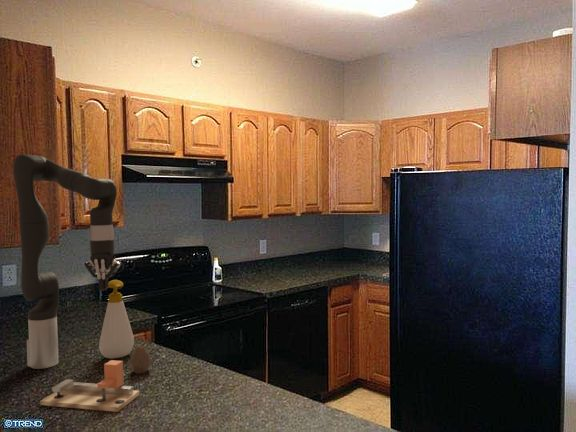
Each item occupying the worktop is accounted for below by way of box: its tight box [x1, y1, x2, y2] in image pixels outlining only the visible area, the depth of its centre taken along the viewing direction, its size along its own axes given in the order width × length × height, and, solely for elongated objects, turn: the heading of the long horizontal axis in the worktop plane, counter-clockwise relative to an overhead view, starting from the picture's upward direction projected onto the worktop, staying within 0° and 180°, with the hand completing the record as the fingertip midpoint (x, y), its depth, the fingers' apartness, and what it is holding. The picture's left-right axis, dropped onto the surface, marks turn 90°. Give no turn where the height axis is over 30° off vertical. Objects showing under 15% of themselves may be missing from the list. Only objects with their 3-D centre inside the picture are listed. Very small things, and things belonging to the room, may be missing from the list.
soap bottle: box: [98, 279, 135, 360], centre depth 183 cm, size 13×10×29 cm
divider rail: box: [51, 378, 134, 397], centre depth 146 cm, size 23×8×3 cm, turn 78°
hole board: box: [39, 389, 141, 413], centre depth 146 cm, size 25×12×1 cm, turn 78°
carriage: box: [96, 359, 125, 400], centre depth 145 cm, size 4×8×9 cm, turn 168°
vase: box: [129, 344, 152, 374], centre depth 168 cm, size 7×7×9 cm
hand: (103, 289), depth 165 cm, fingers closed
